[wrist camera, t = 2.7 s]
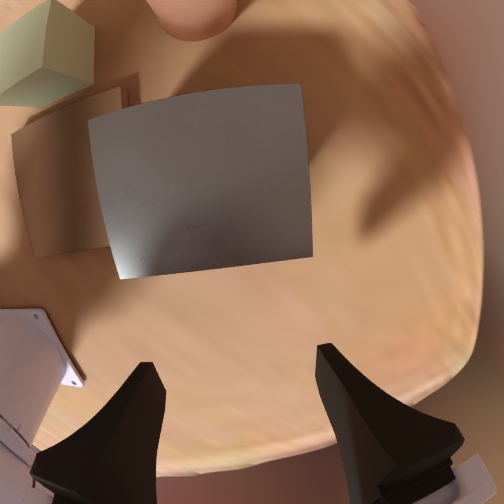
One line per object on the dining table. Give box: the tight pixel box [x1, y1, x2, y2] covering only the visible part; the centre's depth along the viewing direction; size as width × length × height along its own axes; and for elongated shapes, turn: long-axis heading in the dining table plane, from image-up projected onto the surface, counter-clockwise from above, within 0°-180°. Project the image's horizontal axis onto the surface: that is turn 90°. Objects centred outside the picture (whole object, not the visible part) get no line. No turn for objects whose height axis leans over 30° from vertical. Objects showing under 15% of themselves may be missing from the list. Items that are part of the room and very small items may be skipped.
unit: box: [88, 84, 313, 280], centre depth 10 cm, size 7×6×6 cm
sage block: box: [0, 0, 95, 108], centre depth 7 cm, size 4×4×5 cm
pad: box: [11, 86, 129, 259], centre depth 12 cm, size 8×8×1 cm
